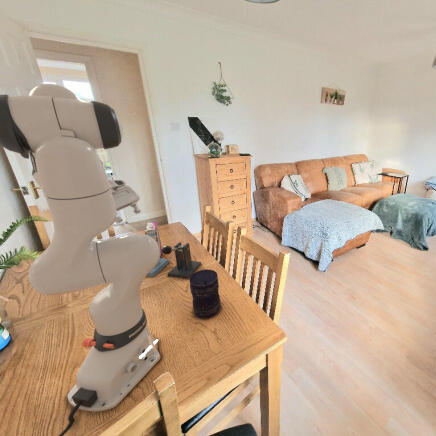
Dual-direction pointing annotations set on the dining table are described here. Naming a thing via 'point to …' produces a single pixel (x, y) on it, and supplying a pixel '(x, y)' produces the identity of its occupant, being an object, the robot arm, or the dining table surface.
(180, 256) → the switch bracket
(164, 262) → the panel
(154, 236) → the candy bar box
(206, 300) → the storage jar
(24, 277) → the dining table surface
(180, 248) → the power lever
